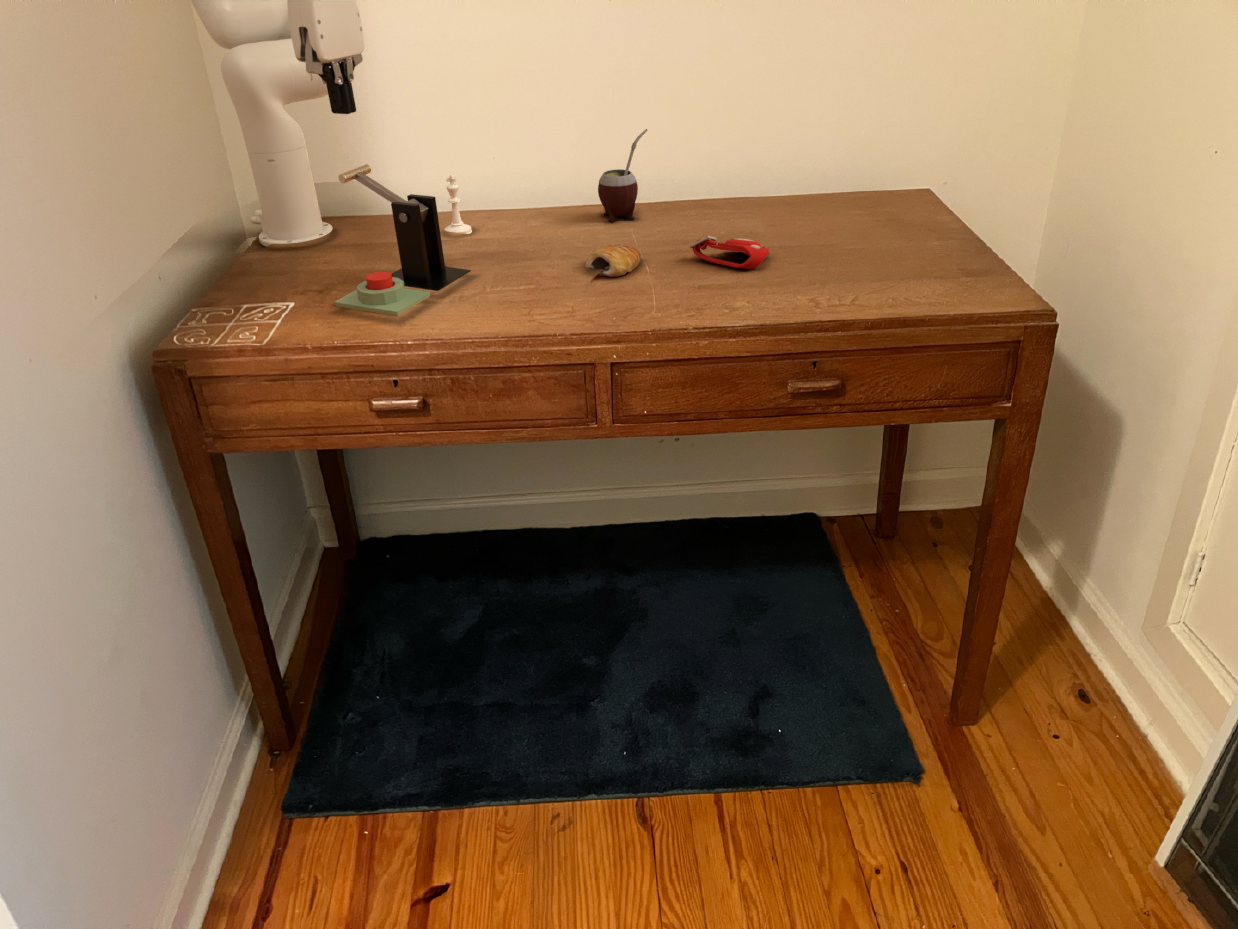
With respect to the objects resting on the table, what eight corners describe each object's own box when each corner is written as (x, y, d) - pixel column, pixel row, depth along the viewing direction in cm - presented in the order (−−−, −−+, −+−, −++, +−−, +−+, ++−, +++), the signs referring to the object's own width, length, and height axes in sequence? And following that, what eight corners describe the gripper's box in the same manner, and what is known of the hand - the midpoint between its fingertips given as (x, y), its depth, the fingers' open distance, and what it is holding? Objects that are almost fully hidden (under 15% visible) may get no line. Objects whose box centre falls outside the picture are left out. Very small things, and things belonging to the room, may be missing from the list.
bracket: (378, 288, 139) (363, 204, 132) (413, 269, 146) (400, 188, 139) (439, 297, 135) (426, 211, 128) (471, 277, 142) (461, 194, 135)
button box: (336, 312, 131) (331, 289, 130) (370, 293, 138) (366, 271, 136) (399, 323, 127) (394, 299, 126) (431, 302, 134) (428, 279, 132)
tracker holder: (754, 240, 149) (784, 243, 140) (750, 267, 150) (780, 272, 141) (686, 232, 145) (713, 234, 135) (683, 260, 146) (709, 265, 137)
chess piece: (466, 237, 159) (459, 178, 154) (440, 236, 160) (432, 178, 154) (476, 228, 163) (469, 171, 158) (450, 227, 164) (442, 170, 159)
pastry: (617, 255, 148) (616, 232, 146) (651, 263, 145) (651, 239, 143) (582, 273, 142) (581, 249, 140) (618, 281, 138) (617, 257, 136)
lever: (337, 183, 134) (339, 169, 133) (362, 173, 139) (365, 159, 137) (408, 229, 133) (412, 215, 131) (432, 217, 138) (436, 204, 136)
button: (362, 290, 130) (360, 278, 129) (378, 281, 133) (376, 270, 132) (383, 293, 129) (381, 281, 128) (398, 284, 132) (396, 272, 131)
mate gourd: (592, 220, 164) (587, 134, 157) (615, 208, 170) (612, 124, 162) (627, 226, 161) (624, 138, 153) (649, 213, 167) (648, 128, 159)
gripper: (331, -37, 129) (356, 101, 138) (255, -28, 117) (288, 122, 127) (374, -37, 126) (396, 103, 135) (301, -29, 114) (331, 124, 124)
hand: (344, 112), depth 131 cm, fingers closed
